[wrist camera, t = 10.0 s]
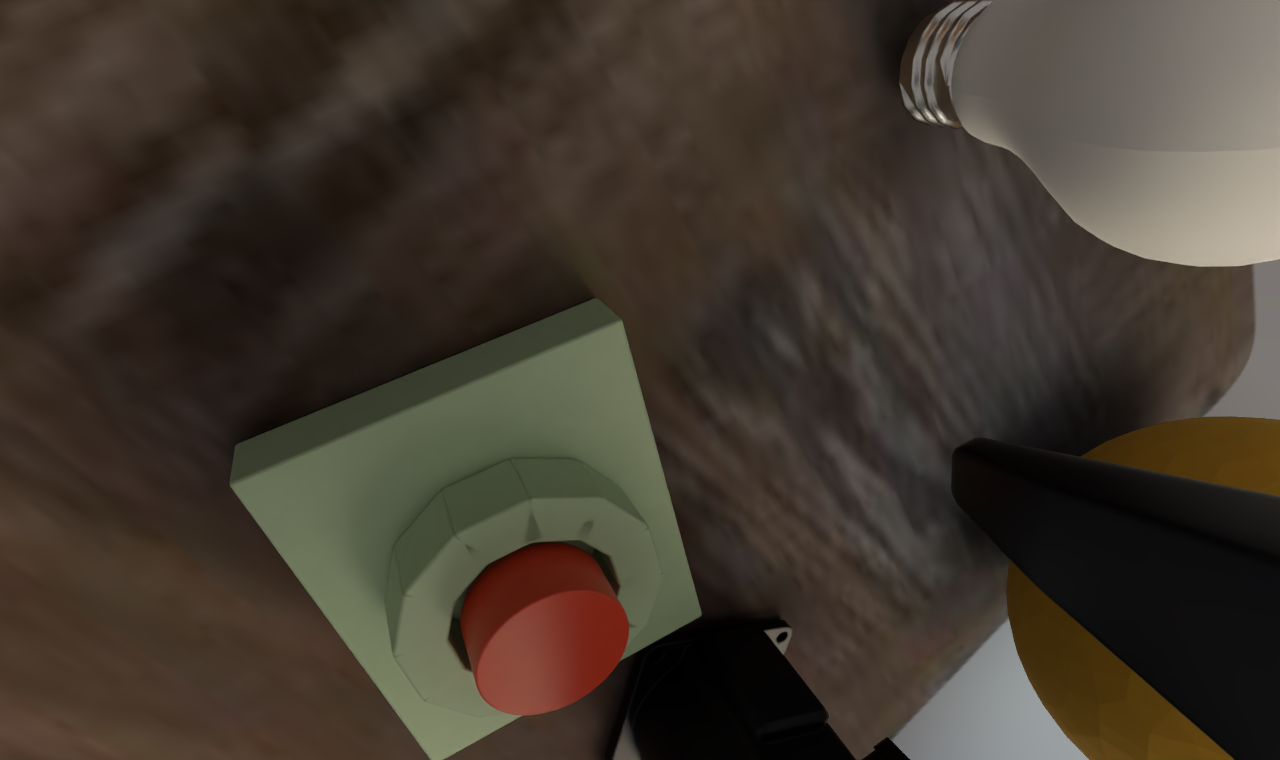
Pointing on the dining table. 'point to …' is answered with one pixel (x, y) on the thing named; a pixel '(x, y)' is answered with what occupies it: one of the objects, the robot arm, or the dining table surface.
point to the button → (542, 628)
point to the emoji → (1082, 666)
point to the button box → (470, 504)
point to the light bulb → (1121, 113)
